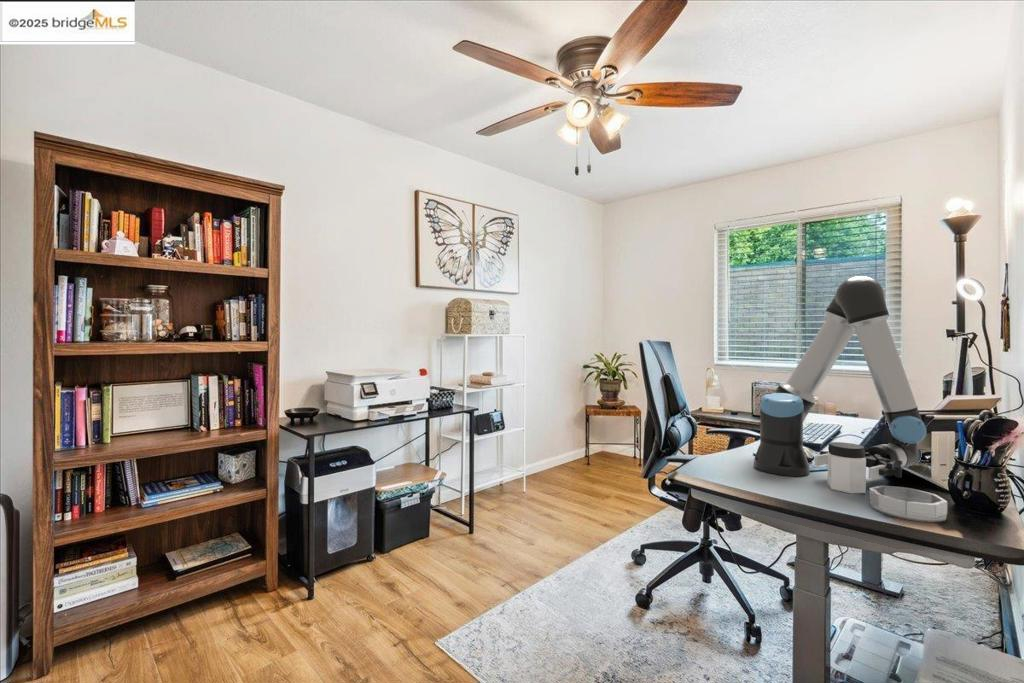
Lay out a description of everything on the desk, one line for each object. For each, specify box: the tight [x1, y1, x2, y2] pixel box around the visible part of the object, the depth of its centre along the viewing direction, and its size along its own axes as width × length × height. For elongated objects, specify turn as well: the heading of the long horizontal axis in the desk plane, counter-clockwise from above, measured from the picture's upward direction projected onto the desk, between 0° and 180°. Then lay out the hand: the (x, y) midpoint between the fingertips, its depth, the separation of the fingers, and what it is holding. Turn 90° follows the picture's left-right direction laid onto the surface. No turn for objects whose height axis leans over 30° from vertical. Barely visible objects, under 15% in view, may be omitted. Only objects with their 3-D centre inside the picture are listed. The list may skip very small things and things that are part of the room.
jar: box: [827, 441, 867, 495], centre depth 127 cm, size 9×8×12 cm
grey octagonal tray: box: [869, 484, 948, 523], centre depth 111 cm, size 14×14×4 cm
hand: (841, 466), depth 126 cm, fingers open, 13 cm apart
